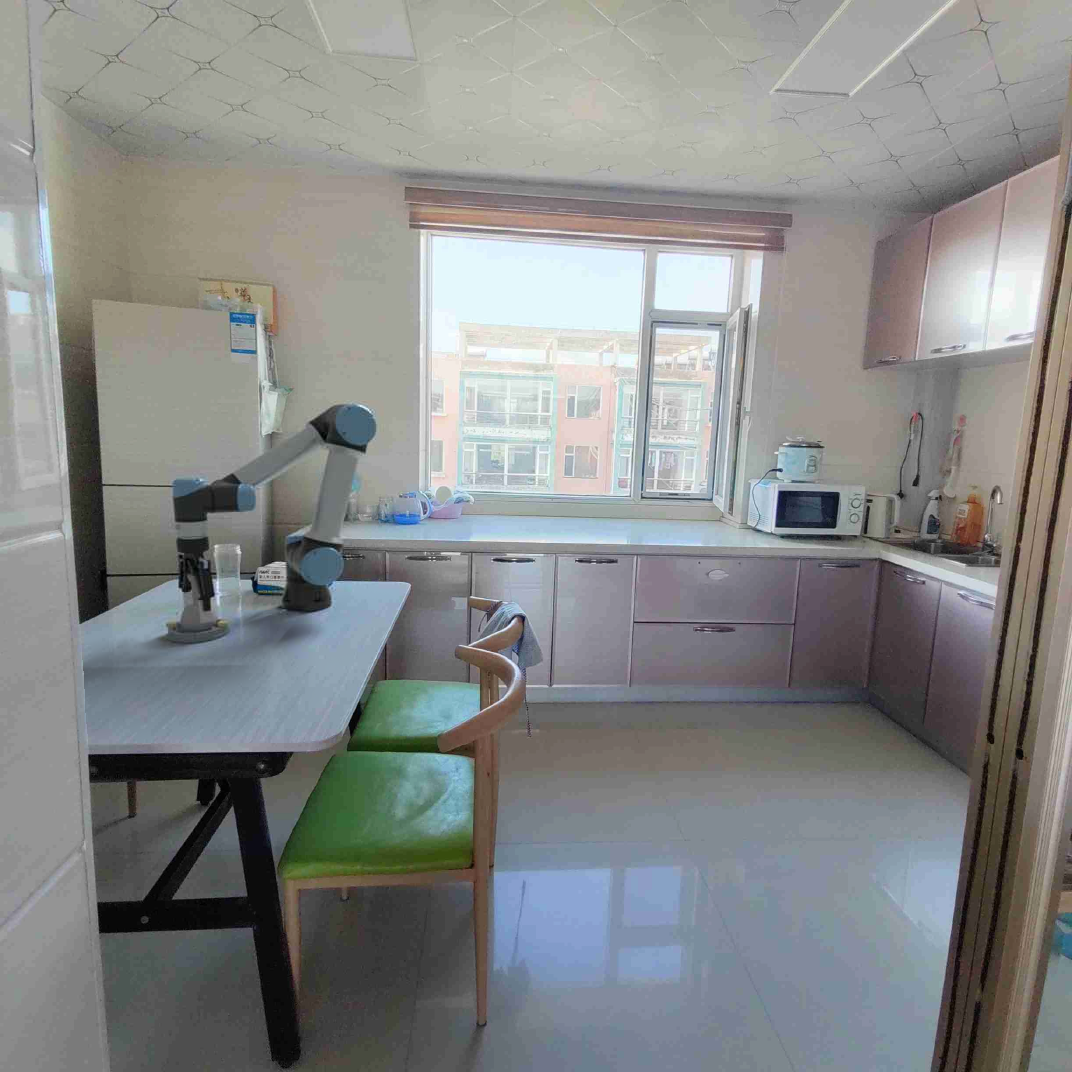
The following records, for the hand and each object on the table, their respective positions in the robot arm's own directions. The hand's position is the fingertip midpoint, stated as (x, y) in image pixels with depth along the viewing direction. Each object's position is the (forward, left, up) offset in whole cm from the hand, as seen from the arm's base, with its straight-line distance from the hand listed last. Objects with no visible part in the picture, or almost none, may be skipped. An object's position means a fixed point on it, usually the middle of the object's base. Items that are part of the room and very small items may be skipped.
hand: (198, 618), depth 166 cm
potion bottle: (0, 0, -4) cm, 4 cm away
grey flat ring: (0, 0, -4) cm, 4 cm away
